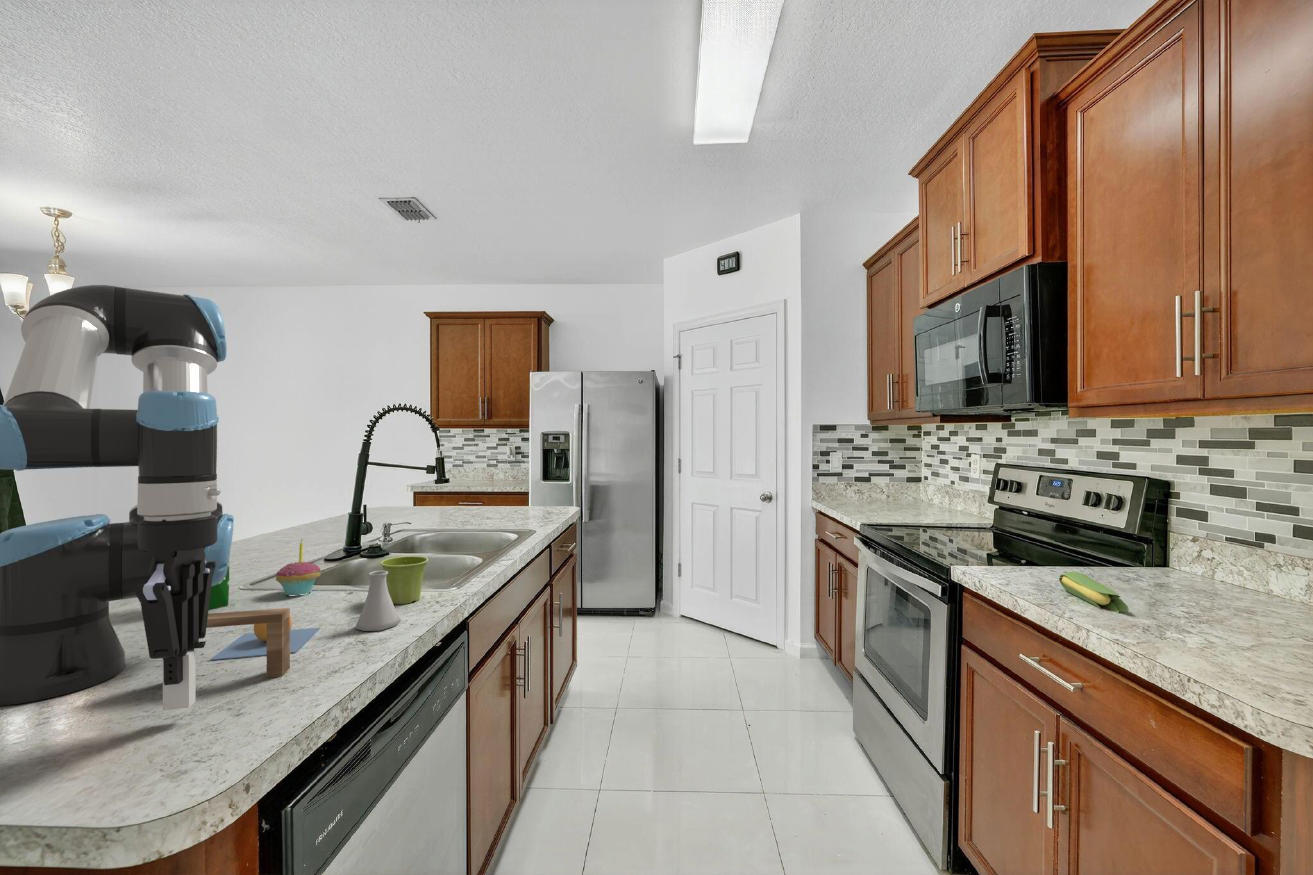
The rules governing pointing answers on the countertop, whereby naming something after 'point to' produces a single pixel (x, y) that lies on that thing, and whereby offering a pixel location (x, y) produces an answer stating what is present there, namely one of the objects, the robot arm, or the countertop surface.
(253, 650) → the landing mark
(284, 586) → the cupcake
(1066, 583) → the edible corn
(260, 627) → the ball
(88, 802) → the countertop surface
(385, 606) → the flask
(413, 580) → the plant pot
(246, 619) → the bridge
